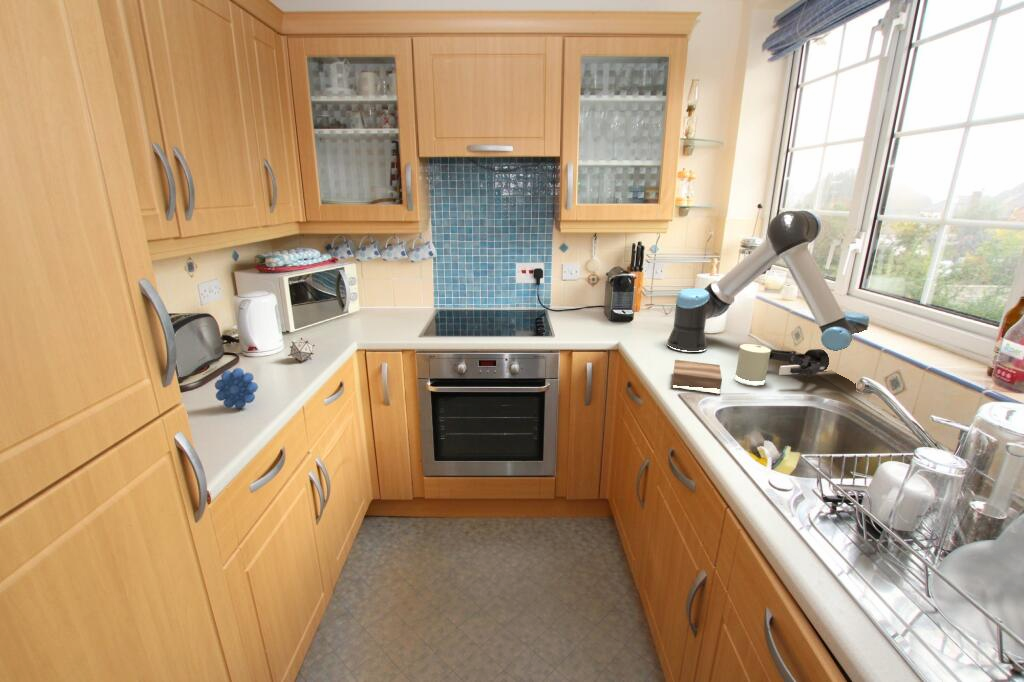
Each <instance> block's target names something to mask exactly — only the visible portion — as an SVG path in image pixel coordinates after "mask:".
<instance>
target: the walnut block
mask: <svg viewBox="0 0 1024 682" xmlns="http://www.w3.org/2000/svg"><path fill="white" fill-rule="evenodd" d="M672 383H673V384H672V385H677V386H689V387H703V388H717V389H721V388H722V383H723V376H722V371H721V366H720V364H713V363H706V362H696V361H688V360H680V359H675V360H674V366H673V372H672ZM672 385H671V386H672ZM721 390H722V389H721Z"/></svg>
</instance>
